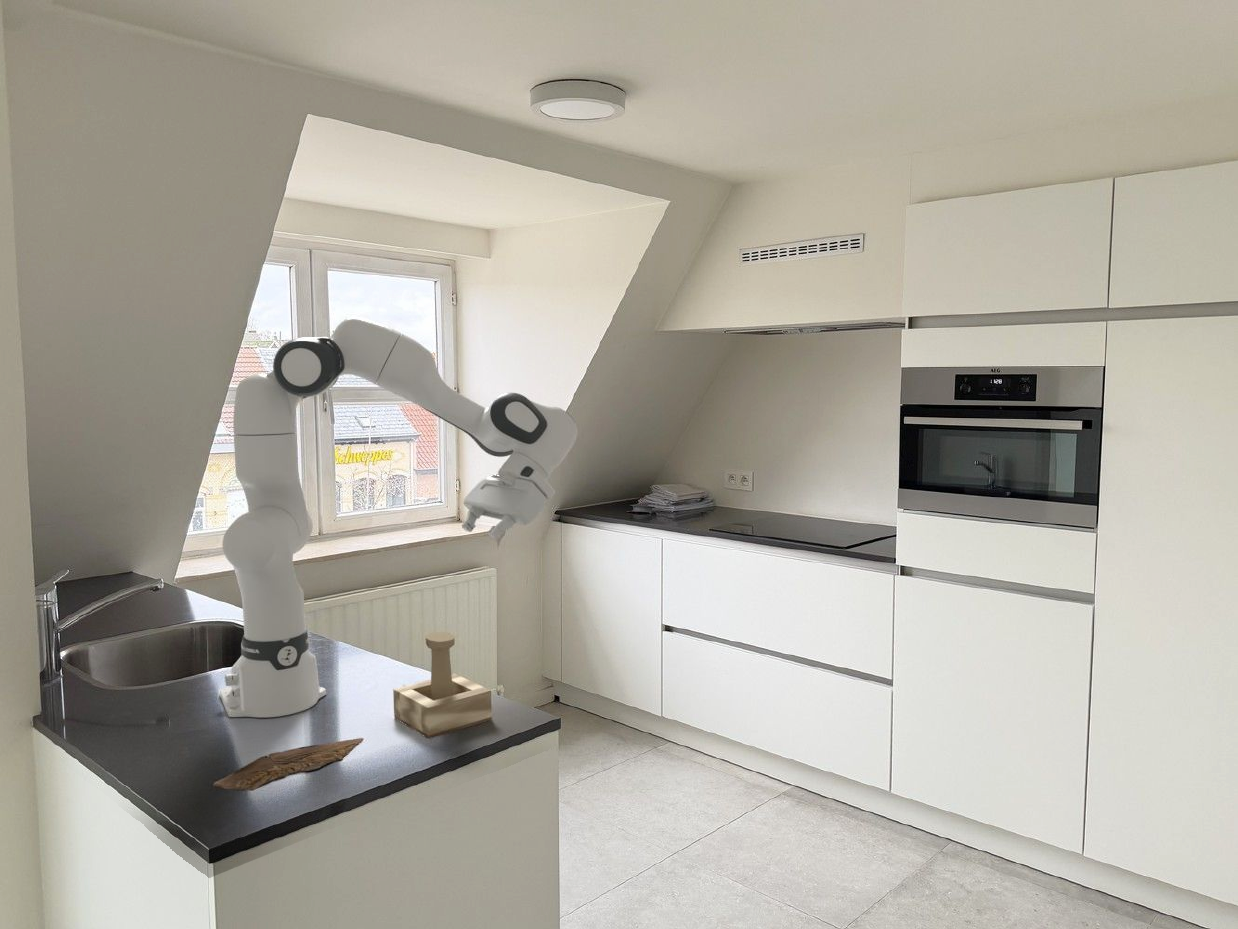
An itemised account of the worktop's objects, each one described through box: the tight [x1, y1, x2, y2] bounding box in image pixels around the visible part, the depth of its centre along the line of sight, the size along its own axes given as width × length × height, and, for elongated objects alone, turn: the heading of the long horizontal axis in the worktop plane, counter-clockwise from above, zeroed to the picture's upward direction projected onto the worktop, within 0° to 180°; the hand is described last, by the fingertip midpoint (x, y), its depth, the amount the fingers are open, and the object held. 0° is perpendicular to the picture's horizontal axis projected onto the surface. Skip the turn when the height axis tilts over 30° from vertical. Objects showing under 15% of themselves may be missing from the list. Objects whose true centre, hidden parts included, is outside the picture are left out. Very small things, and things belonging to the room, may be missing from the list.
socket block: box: [392, 673, 493, 739], centre depth 171 cm, size 13×13×6 cm
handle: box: [425, 631, 456, 701], centre depth 170 cm, size 5×6×15 cm
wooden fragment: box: [212, 737, 364, 791], centre depth 153 cm, size 26×11×1 cm, turn 132°
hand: (478, 533), depth 176 cm, fingers open, 8 cm apart
